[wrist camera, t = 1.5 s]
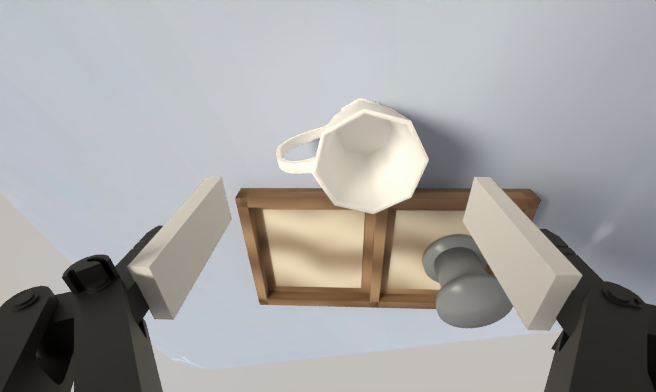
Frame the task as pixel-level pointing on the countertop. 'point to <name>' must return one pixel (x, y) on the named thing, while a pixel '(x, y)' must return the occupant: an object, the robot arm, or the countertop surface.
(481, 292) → the doorknob
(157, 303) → the robot arm
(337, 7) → the countertop surface
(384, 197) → the cup
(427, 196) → the slot tray
